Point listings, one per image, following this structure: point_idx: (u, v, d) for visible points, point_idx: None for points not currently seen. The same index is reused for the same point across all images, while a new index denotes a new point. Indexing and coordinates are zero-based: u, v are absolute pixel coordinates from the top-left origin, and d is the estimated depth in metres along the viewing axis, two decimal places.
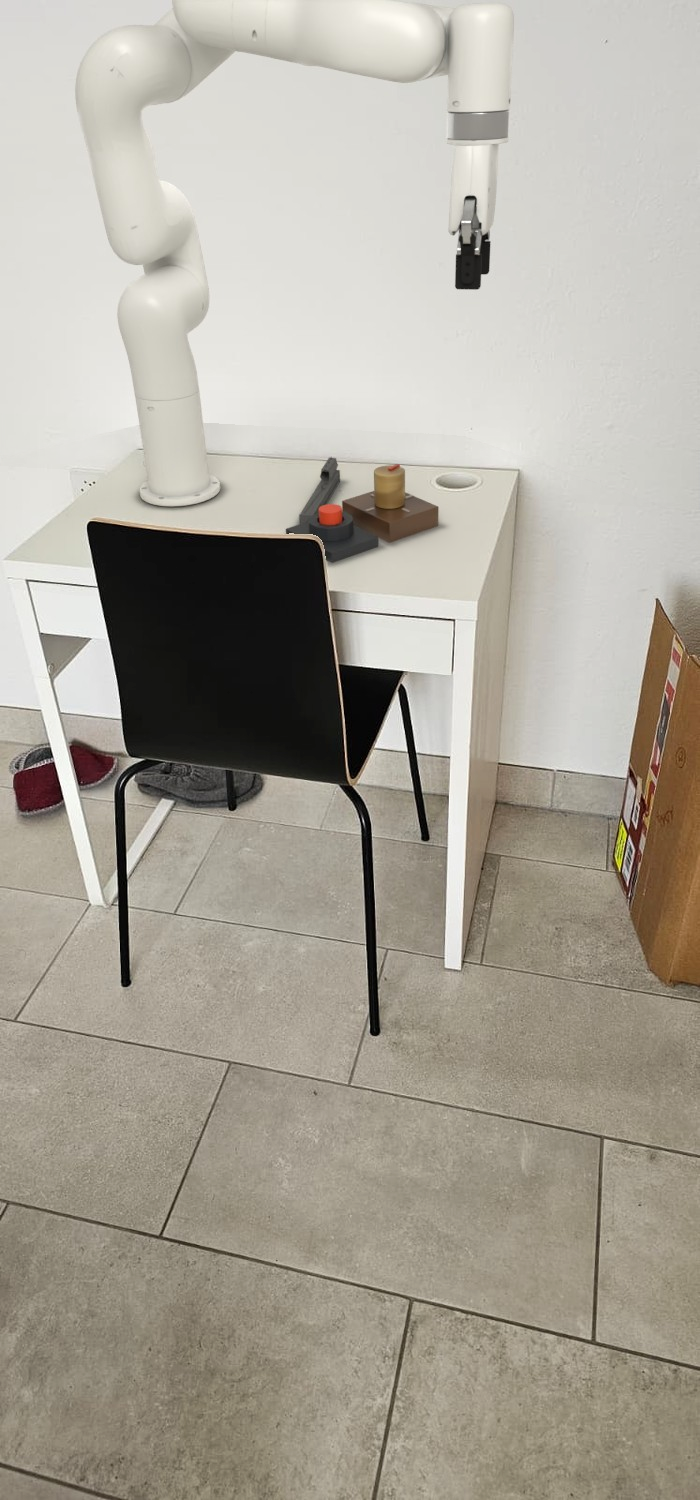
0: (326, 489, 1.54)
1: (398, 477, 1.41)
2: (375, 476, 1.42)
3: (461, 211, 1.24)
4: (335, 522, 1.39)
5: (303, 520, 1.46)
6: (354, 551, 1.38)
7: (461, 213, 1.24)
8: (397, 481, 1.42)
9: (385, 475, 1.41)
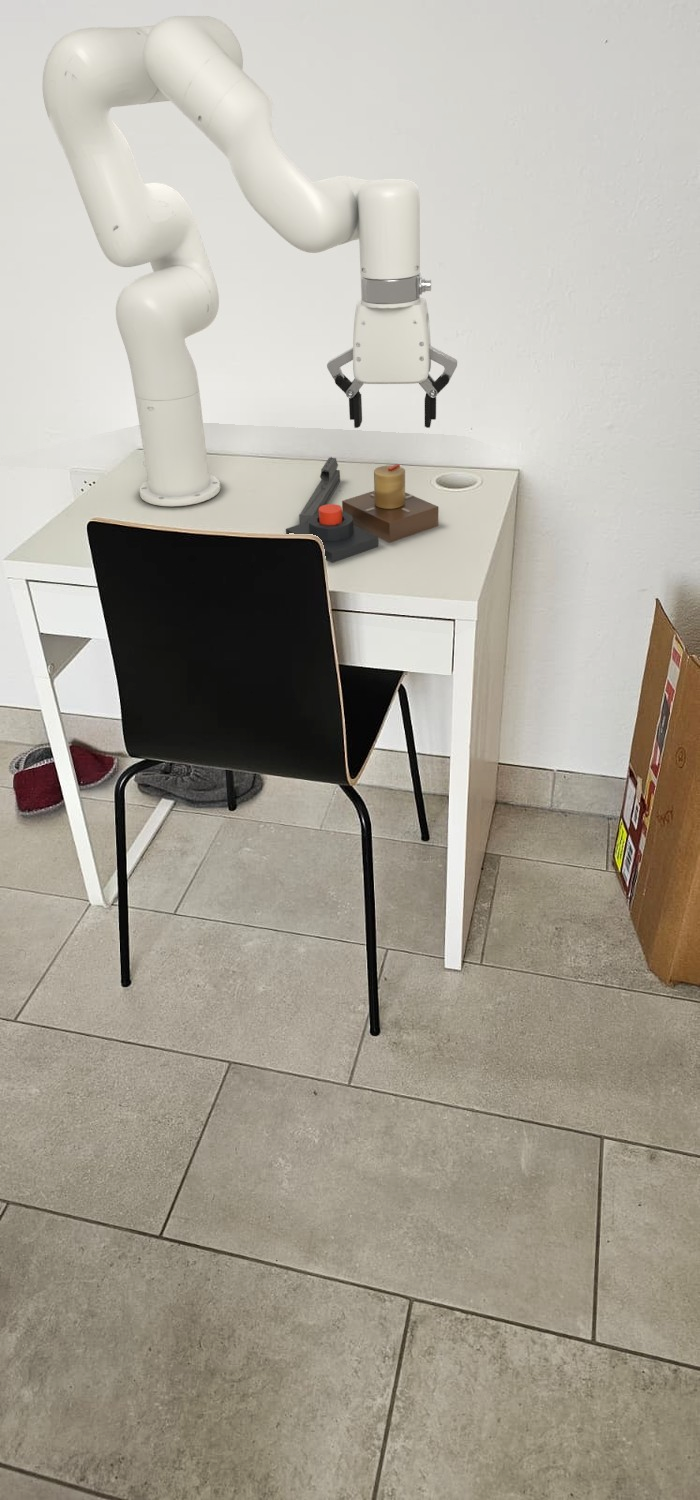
0: (326, 489, 1.54)
1: (398, 477, 1.41)
2: (375, 476, 1.42)
3: None
4: (335, 522, 1.39)
5: (303, 520, 1.46)
6: (354, 551, 1.38)
7: None
8: (397, 481, 1.42)
9: (385, 475, 1.41)
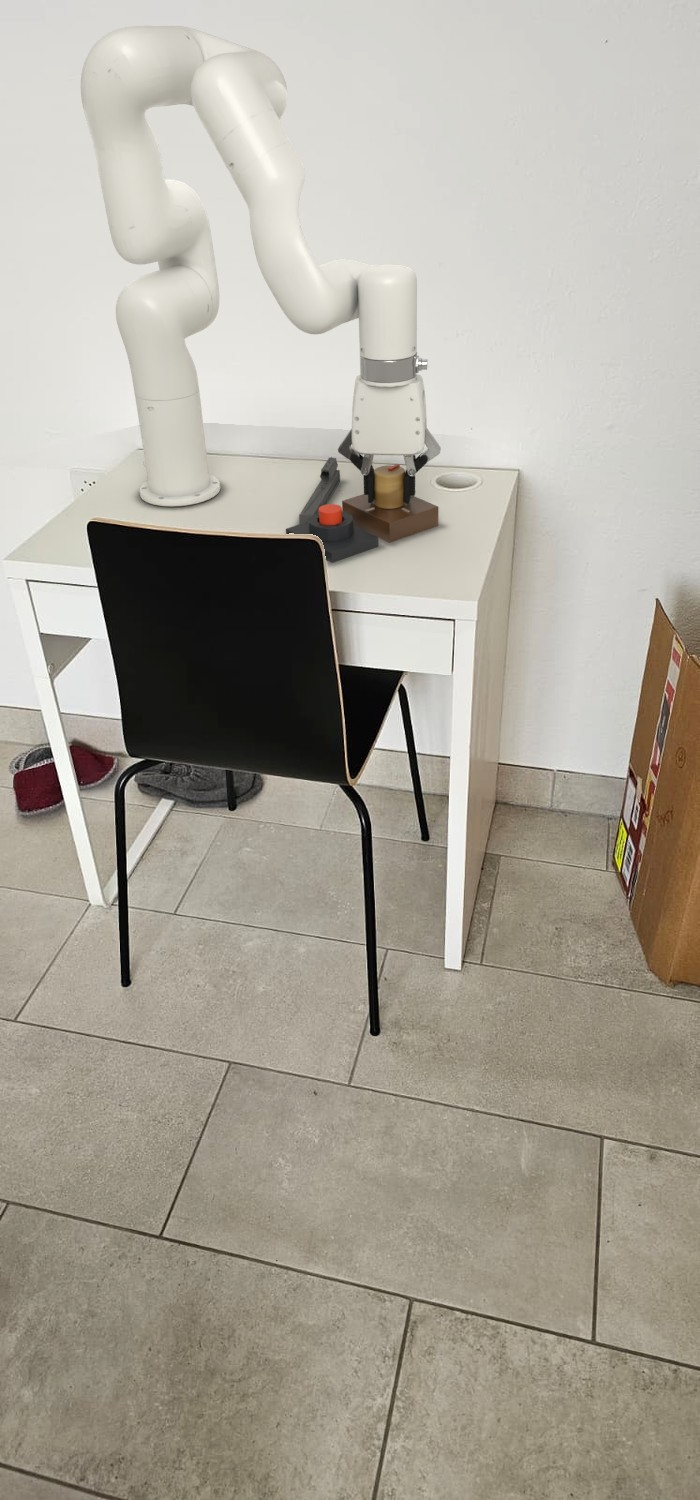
0: (326, 489, 1.54)
1: (398, 477, 1.42)
2: (375, 476, 1.42)
3: None
4: (335, 522, 1.39)
5: (303, 520, 1.46)
6: (354, 551, 1.38)
7: None
8: (397, 481, 1.42)
9: (385, 475, 1.41)
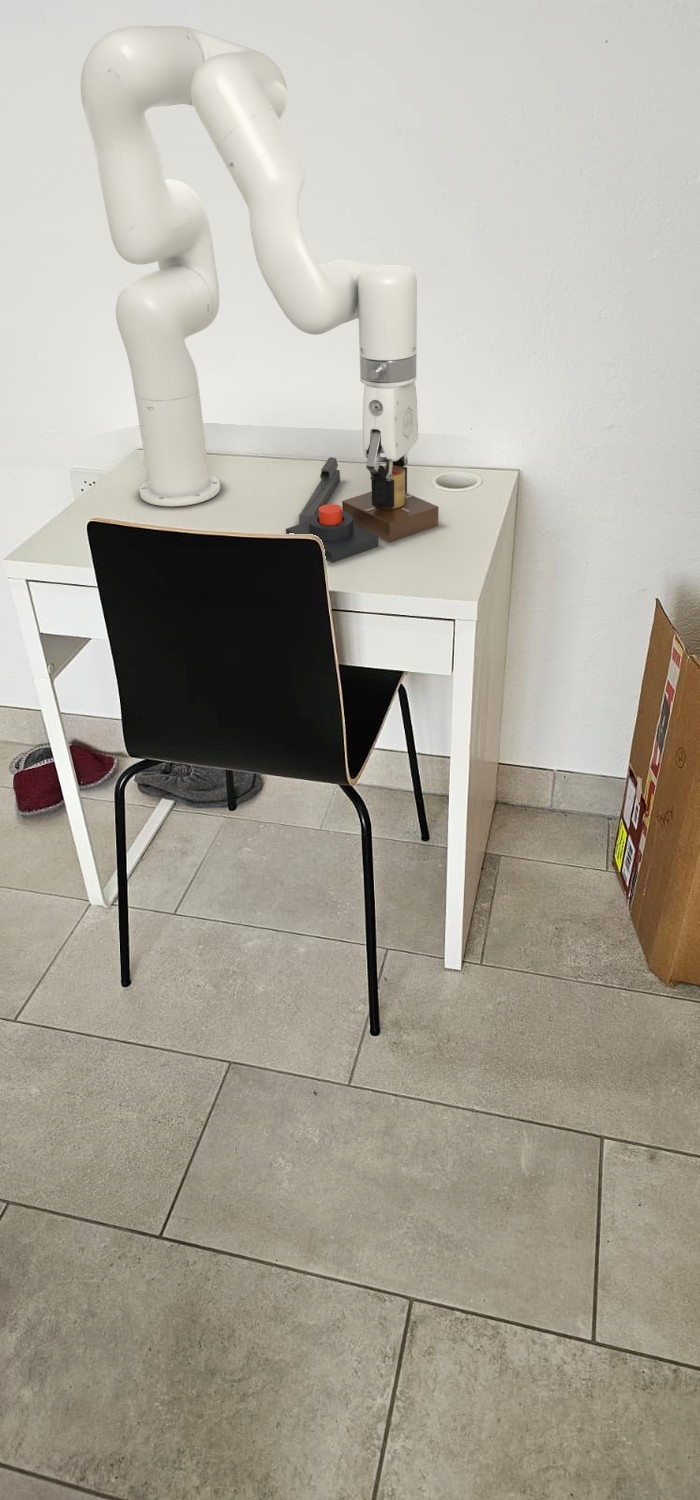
0: (326, 489, 1.54)
1: None
2: None
3: None
4: (335, 522, 1.39)
5: (303, 520, 1.46)
6: (354, 551, 1.38)
7: None
8: None
9: None
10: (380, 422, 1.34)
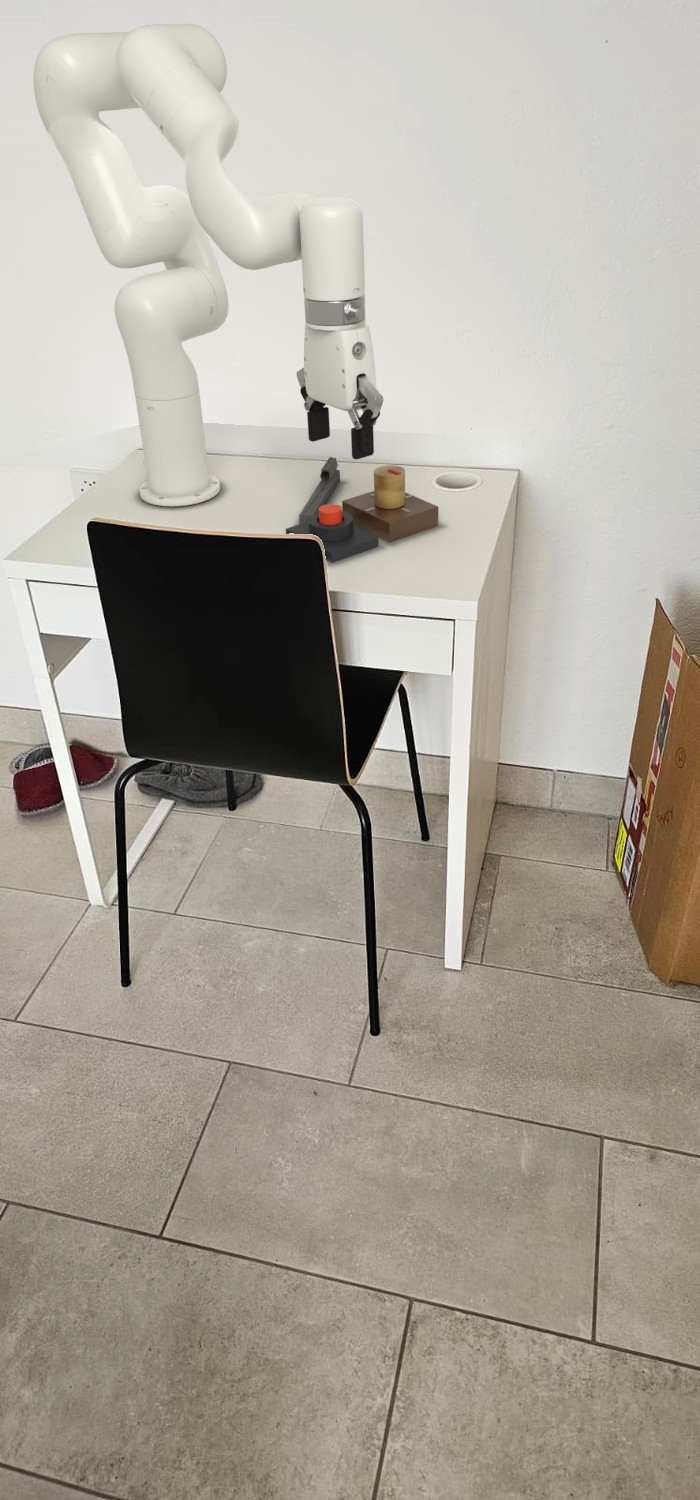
0: (326, 489, 1.54)
1: (374, 475, 1.43)
2: None
3: None
4: (335, 522, 1.39)
5: (303, 520, 1.46)
6: (354, 551, 1.38)
7: None
8: (374, 478, 1.43)
9: (377, 468, 1.44)
10: (365, 364, 1.26)
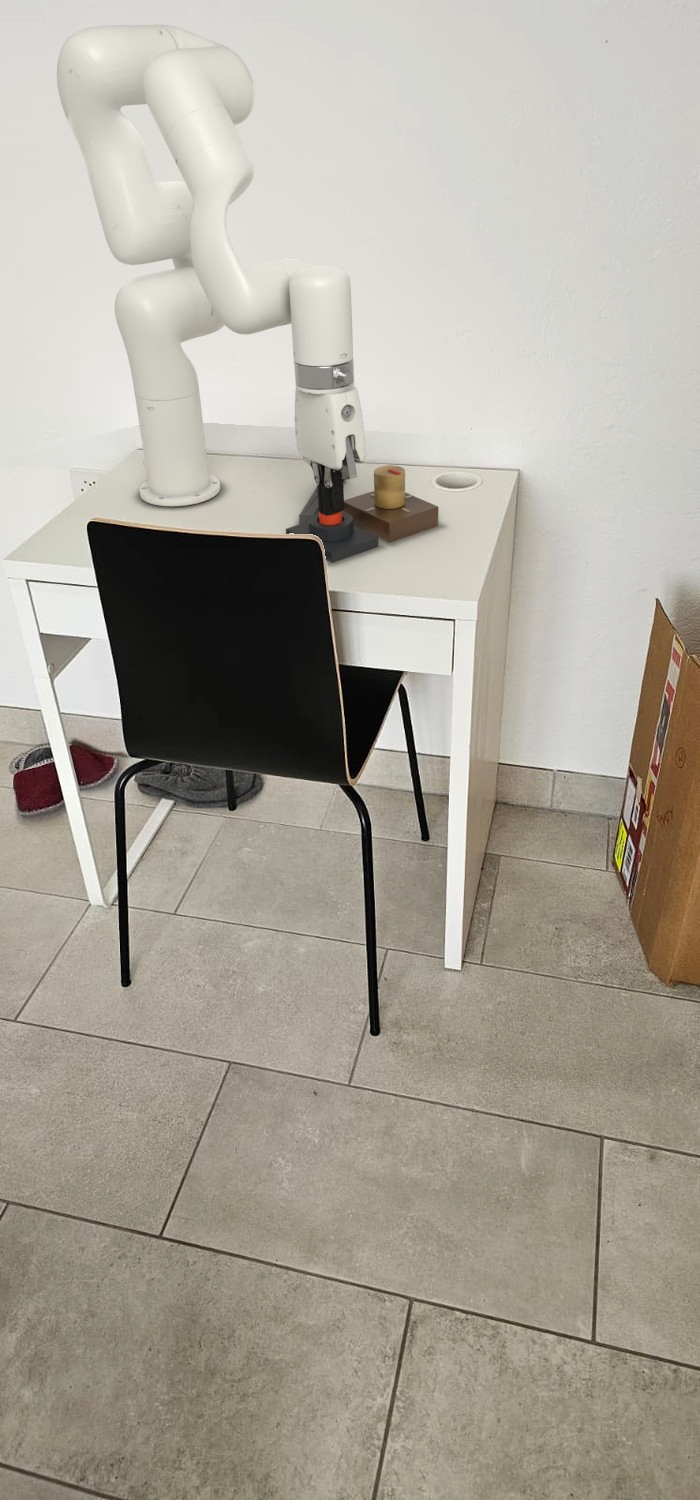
0: None
1: (374, 475, 1.43)
2: None
3: None
4: None
5: (303, 520, 1.46)
6: (354, 551, 1.38)
7: None
8: (374, 478, 1.43)
9: (377, 468, 1.44)
10: (354, 426, 1.29)
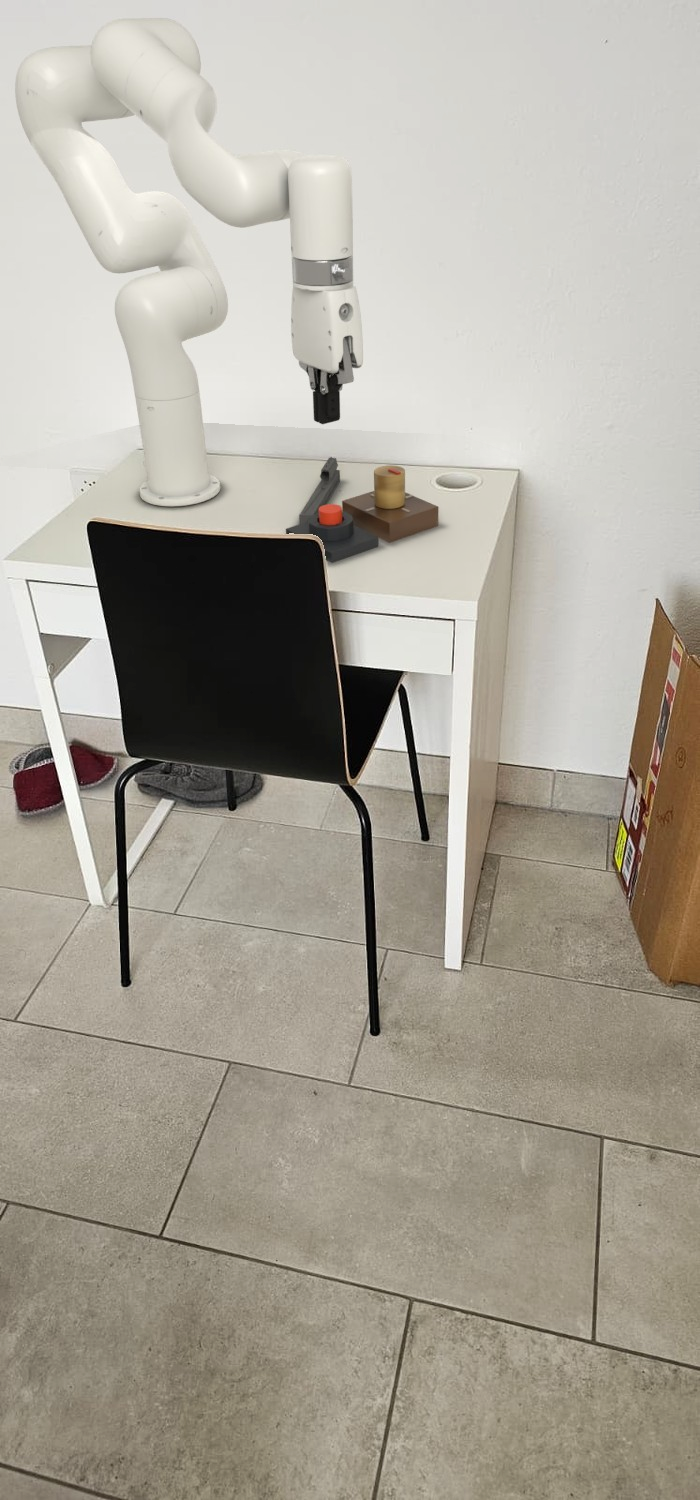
0: (326, 489, 1.54)
1: (374, 475, 1.43)
2: None
3: None
4: (335, 522, 1.39)
5: (303, 520, 1.46)
6: (354, 551, 1.38)
7: None
8: (374, 478, 1.43)
9: (377, 468, 1.44)
10: (352, 326, 1.25)
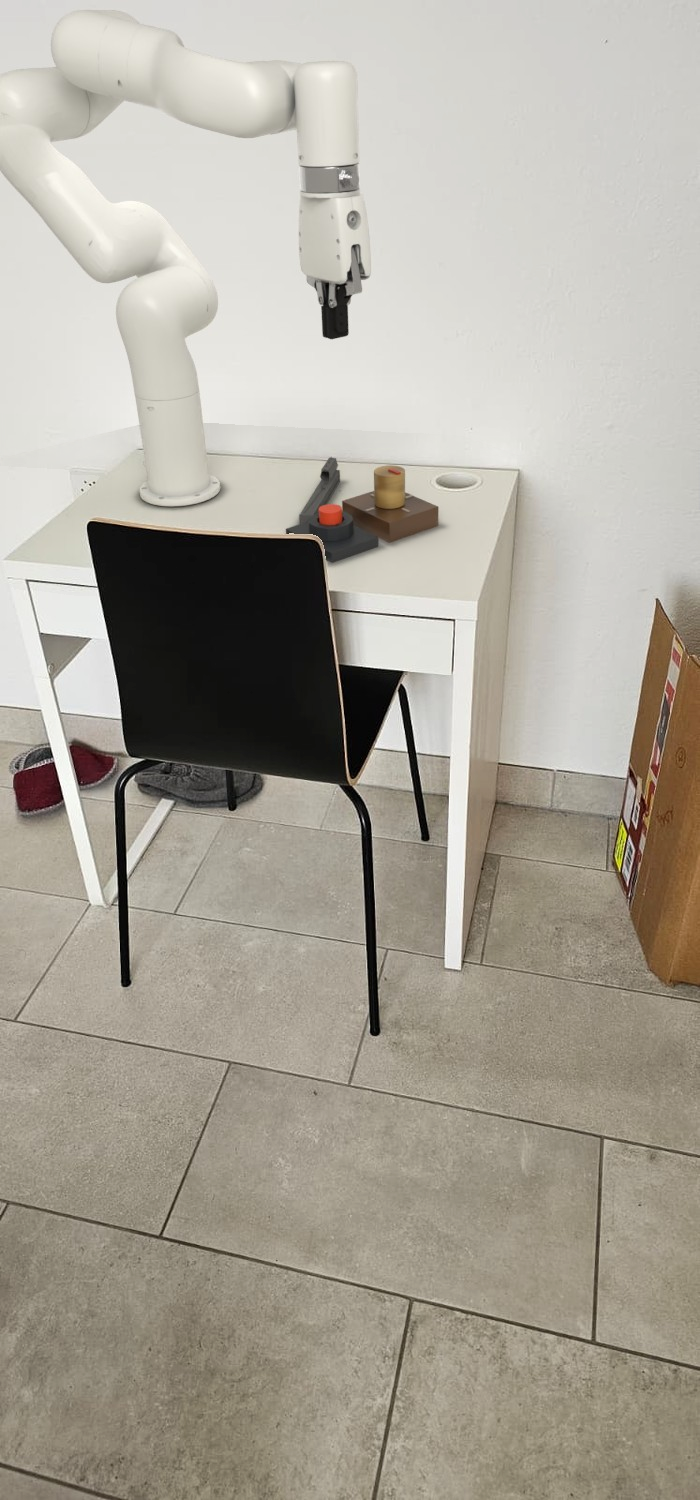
0: (326, 489, 1.54)
1: (374, 475, 1.43)
2: None
3: None
4: (335, 522, 1.39)
5: (303, 520, 1.46)
6: (354, 551, 1.38)
7: None
8: (374, 478, 1.43)
9: (377, 468, 1.44)
10: (359, 235, 1.26)
